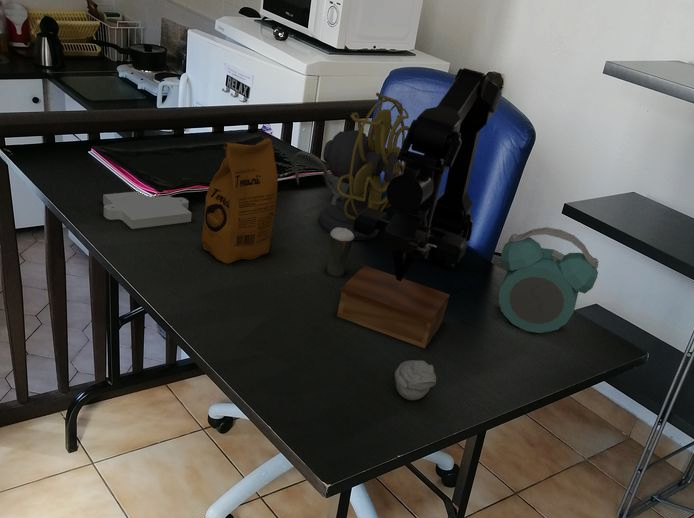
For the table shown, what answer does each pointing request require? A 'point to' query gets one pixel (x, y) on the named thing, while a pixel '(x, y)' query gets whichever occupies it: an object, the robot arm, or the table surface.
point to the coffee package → (241, 203)
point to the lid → (396, 294)
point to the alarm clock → (543, 281)
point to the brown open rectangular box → (389, 320)
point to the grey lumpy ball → (414, 379)
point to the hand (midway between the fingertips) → (399, 280)
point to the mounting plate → (145, 209)
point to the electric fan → (361, 167)
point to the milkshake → (339, 250)
